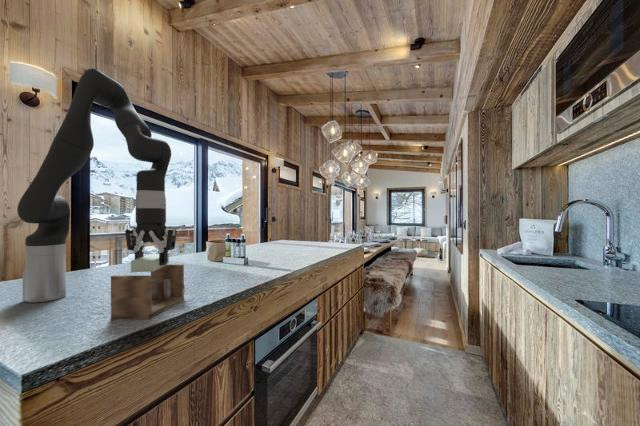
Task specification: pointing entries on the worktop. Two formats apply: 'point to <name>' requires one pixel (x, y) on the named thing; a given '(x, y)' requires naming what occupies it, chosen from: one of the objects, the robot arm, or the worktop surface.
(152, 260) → the shelf board
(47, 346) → the worktop surface
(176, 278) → the peg cradle
